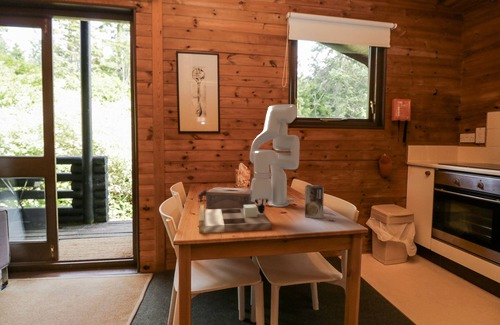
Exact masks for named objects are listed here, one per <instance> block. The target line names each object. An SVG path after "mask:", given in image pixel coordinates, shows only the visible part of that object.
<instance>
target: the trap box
mask: <svg viewBox="0 0 500 325" xmlns="http://www.w3.org/2000/svg"><path fill="white" fill-rule="evenodd" d="M261 230H265V231H266V230H272V222H271V220H270V219H269V218H268V217H267V215H266V214H265V213H264V212H263V213H261V214H260V213H259V211H258V212H257V217H245V216H244V208H235V209H212V208H208V209H205V204H200V205H199V214H198V234H201V233H202V234H203V233H204V234H205V233H223V232H224V233H225V232H243V231H244V232H245V231H247V232H248V231H261Z"/></svg>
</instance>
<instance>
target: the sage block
mask: <svg viewBox="0 0 500 325" xmlns="http://www.w3.org/2000/svg"><path fill="white" fill-rule="evenodd" d="M257 212H258V205H257V204H256V203H255V204H254V205H244V216H245V217H257Z"/></svg>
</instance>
